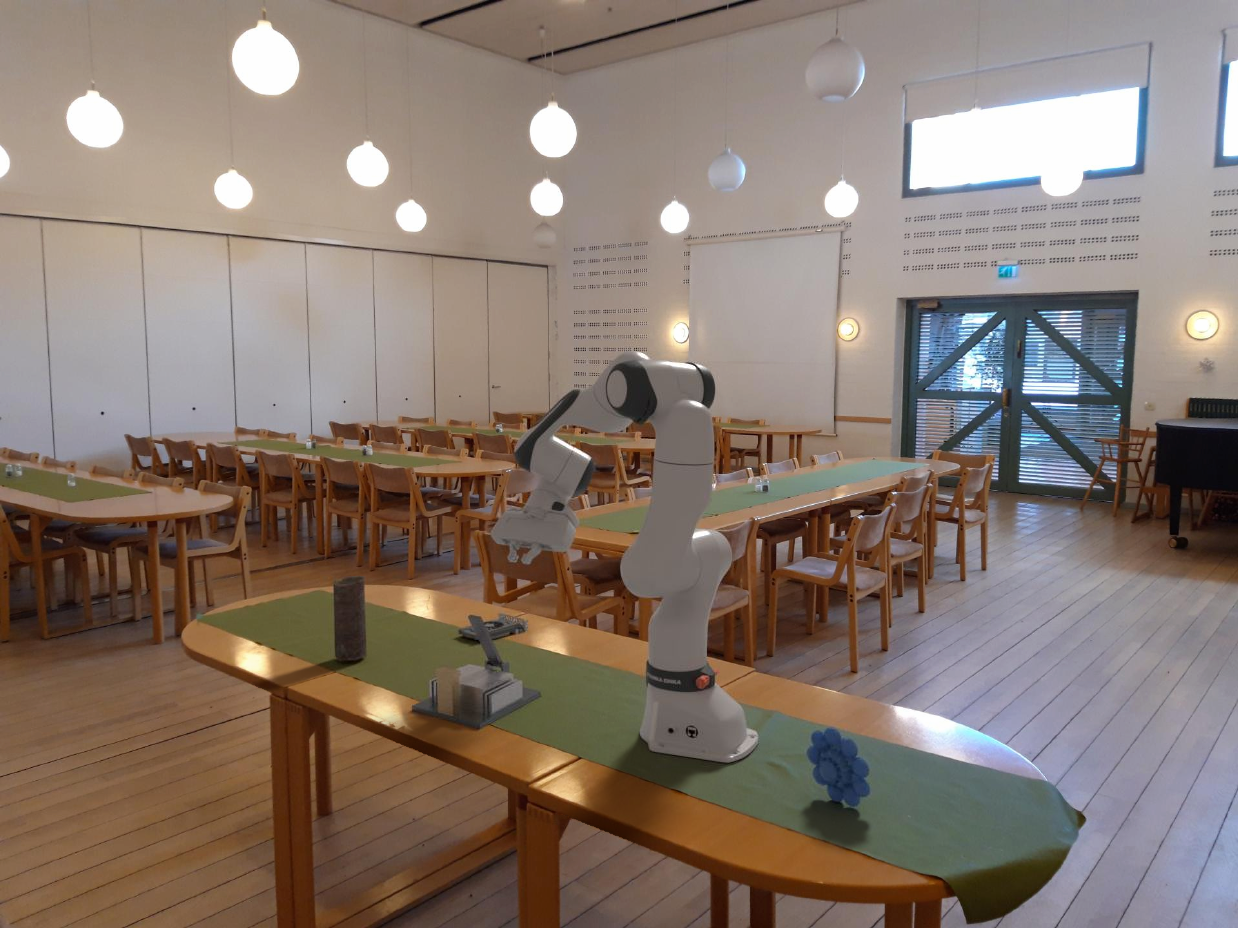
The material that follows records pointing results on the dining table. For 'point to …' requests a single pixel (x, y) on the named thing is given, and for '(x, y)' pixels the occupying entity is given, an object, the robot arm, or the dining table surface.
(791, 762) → the dining table surface
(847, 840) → the dining table surface
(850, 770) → the blue flower
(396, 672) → the dining table surface
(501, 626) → the graphics card
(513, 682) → the grey boxy piece
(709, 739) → the robot arm
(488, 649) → the retention strap
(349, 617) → the candle
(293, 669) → the dining table surface
